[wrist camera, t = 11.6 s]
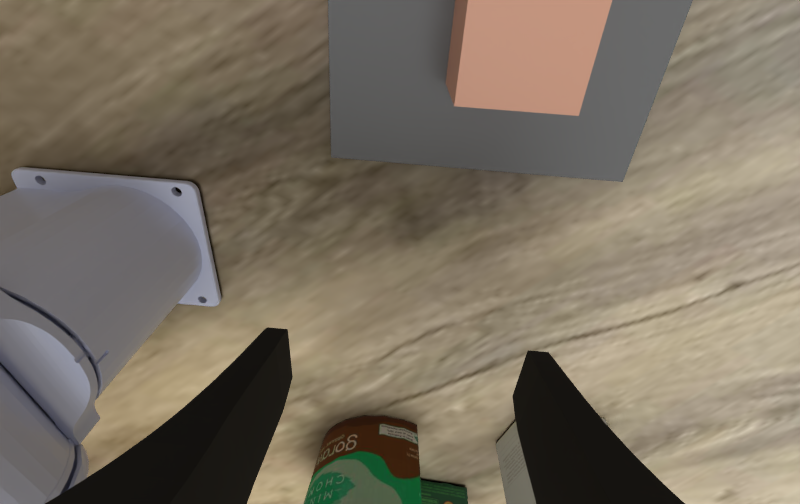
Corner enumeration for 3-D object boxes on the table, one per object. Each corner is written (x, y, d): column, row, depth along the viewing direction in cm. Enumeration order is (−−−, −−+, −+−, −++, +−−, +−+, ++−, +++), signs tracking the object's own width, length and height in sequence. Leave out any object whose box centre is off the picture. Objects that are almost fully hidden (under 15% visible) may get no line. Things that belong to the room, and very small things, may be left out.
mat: (333, 153, 19) (331, 157, 19) (327, -201, 13) (324, -209, 13) (617, 177, 19) (622, 181, 19) (745, -166, 13) (759, -173, 13)
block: (445, 83, 17) (454, 106, 13) (458, -31, 15) (474, -50, 10) (538, 90, 17) (578, 115, 13) (564, -23, 15) (623, -39, 10)
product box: (492, 442, 31) (511, 551, 24) (534, 394, 28) (567, 505, 21) (560, 461, 32) (595, 572, 25) (608, 418, 29) (660, 530, 22)
